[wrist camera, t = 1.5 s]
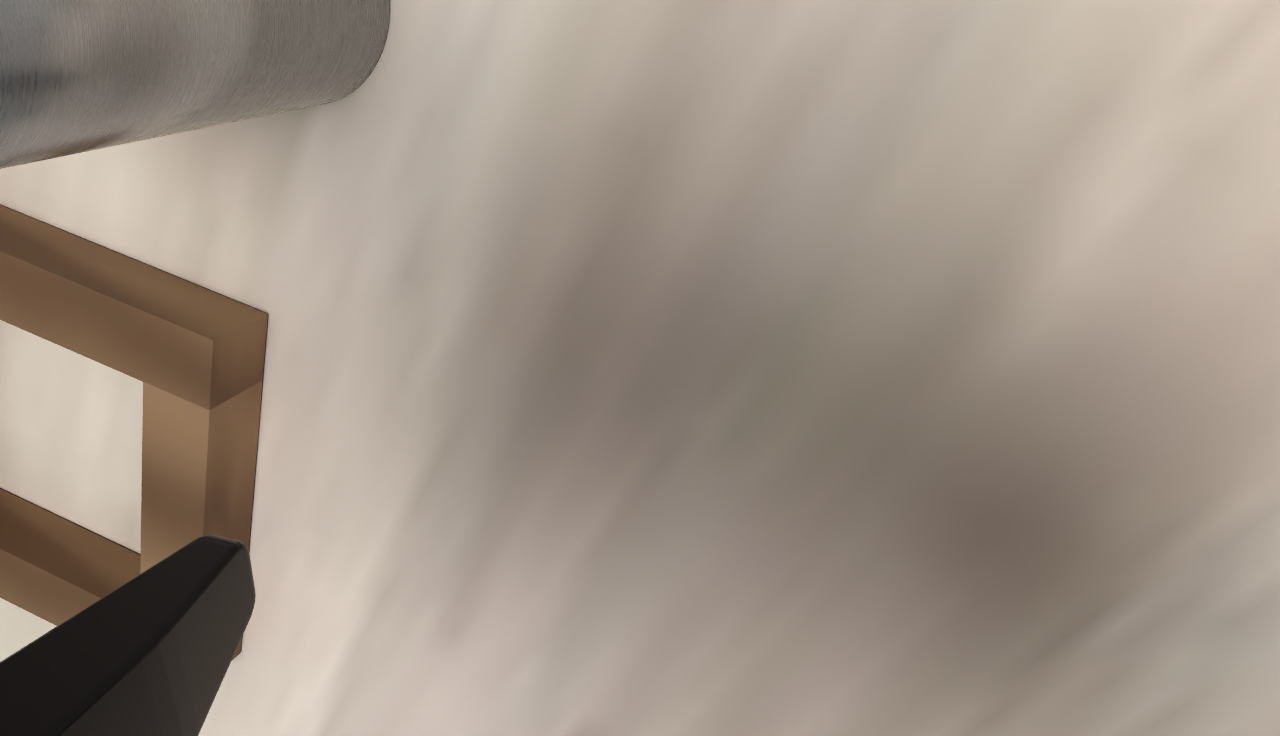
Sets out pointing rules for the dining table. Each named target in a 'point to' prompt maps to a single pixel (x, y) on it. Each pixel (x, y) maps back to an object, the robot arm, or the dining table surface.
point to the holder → (172, 409)
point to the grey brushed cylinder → (171, 66)
